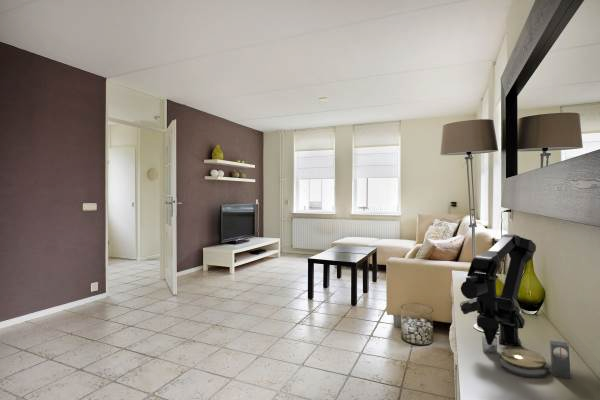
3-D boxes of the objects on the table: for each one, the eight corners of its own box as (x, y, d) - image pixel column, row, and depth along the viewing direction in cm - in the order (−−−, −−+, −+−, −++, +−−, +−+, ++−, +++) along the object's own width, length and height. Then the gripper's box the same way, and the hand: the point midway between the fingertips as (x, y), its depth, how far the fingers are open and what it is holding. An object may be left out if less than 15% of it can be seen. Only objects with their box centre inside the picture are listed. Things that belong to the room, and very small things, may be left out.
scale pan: (501, 349, 112) (501, 346, 112) (543, 355, 107) (543, 352, 107) (502, 364, 102) (502, 360, 102) (548, 371, 97) (548, 368, 97)
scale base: (499, 356, 113) (498, 328, 113) (565, 365, 104) (563, 336, 105) (500, 373, 102) (498, 342, 102) (573, 385, 94) (571, 352, 94)
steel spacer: (482, 348, 120) (482, 333, 120) (497, 350, 118) (496, 335, 118) (482, 353, 116) (481, 338, 116) (497, 355, 114) (496, 340, 114)
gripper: (462, 285, 129) (465, 327, 129) (458, 298, 113) (461, 346, 113) (497, 287, 124) (499, 331, 123) (497, 301, 107) (500, 352, 107)
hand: (489, 339), depth 117 cm, fingers open, 9 cm apart
